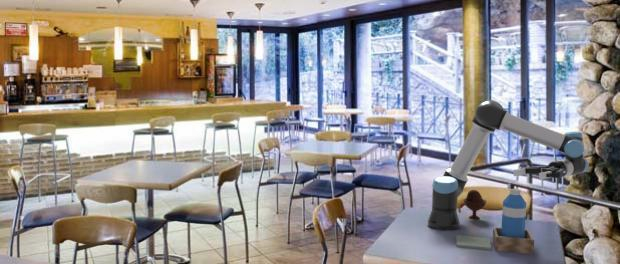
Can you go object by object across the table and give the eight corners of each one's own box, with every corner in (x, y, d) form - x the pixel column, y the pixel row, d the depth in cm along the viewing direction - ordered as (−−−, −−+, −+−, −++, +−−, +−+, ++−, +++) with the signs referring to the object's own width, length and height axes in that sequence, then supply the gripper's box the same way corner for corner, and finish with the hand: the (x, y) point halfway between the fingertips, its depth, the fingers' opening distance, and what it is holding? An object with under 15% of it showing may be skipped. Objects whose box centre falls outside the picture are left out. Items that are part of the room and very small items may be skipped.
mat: (456, 246, 230) (456, 244, 230) (456, 237, 244) (456, 235, 244) (491, 249, 227) (491, 247, 227) (489, 240, 240) (489, 238, 240)
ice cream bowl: (486, 221, 271) (488, 192, 269) (463, 220, 273) (465, 191, 271) (484, 216, 281) (485, 188, 279) (462, 215, 283) (463, 186, 282)
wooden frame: (495, 250, 226) (495, 236, 225) (492, 240, 240) (493, 227, 240) (533, 254, 222) (534, 239, 221) (528, 243, 236) (529, 230, 236)
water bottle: (513, 251, 225) (516, 192, 222) (495, 245, 233) (498, 188, 230) (528, 248, 229) (532, 190, 226) (511, 242, 237) (514, 186, 235)
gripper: (585, 180, 232) (551, 186, 222) (537, 174, 254) (504, 180, 244) (584, 162, 231) (551, 168, 222) (536, 158, 253) (504, 163, 244)
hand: (526, 174), depth 233 cm, fingers open, 13 cm apart
